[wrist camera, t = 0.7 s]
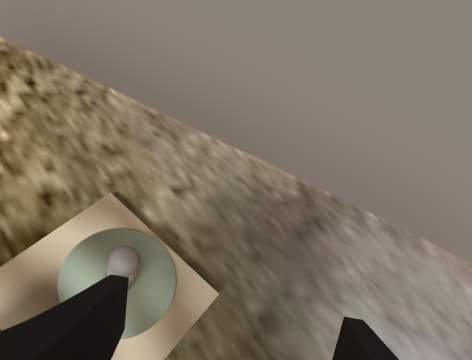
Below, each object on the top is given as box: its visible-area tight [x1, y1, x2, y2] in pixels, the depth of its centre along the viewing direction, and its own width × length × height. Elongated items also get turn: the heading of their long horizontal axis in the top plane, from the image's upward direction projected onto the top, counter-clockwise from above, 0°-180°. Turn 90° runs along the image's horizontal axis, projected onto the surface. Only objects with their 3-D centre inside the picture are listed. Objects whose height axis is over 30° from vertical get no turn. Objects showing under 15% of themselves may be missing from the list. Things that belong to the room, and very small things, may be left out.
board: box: [0, 193, 219, 360], centre depth 22 cm, size 19×12×6 cm, turn 142°
